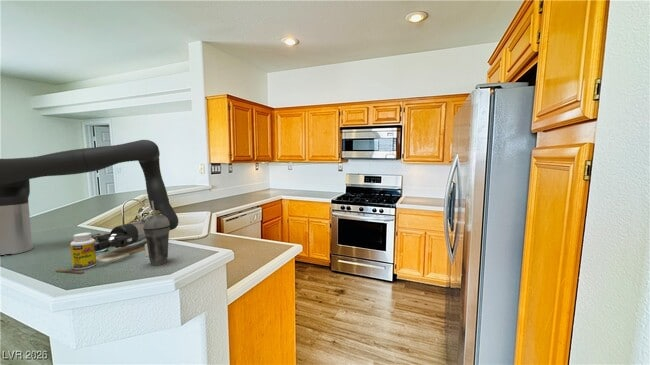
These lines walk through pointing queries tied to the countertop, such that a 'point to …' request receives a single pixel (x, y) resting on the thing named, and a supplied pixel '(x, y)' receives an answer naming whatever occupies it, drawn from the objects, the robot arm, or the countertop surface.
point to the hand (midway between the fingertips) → (83, 247)
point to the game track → (110, 256)
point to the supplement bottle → (83, 251)
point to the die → (146, 250)
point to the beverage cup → (157, 237)
